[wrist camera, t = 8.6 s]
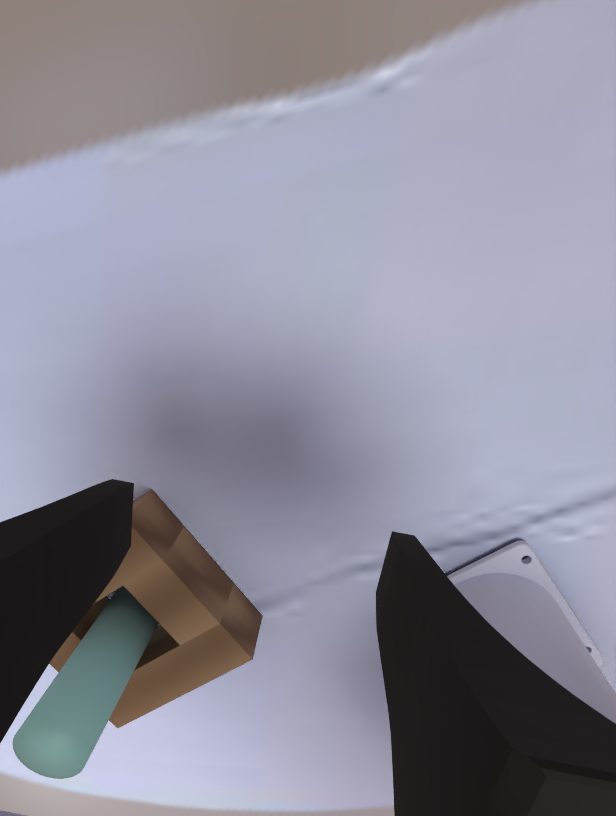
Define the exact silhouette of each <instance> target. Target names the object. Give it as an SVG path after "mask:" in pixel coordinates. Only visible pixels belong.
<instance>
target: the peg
mask: <svg viewBox="0 0 616 816" xmlns="http://www.w3.org/2000/svg"><path fill="white" fill-rule="evenodd" d="M157 625H158V621H157V620H156V619H155V618H154V617H153V616H152V615H151V614H150V613H149V612H148V611H147V610H146V609H145V608H144V607H143V606H142V605H141V604H140V603H139V601H138V600H137V599H136V598H135V597H134V596H133V595H132V594H131V593H130V592H129V591H128V590H127V589H126V588H125V587H124V586H121V587H120V588H118V589H117V590H116V592H115V593H114V595H113V596H112V598H111V599H110V600H109V602H108V603H107V605H106V606H105V608H104V609H103V610H102V612H101V613H100V615H99V616H98V618H97V619H96V620H95V622H94V623H93V625H92V626H91V627H90V629H89V630H88V632H87V633H86V635H85V636H84V637H83V639H82V640H81V642H80V643H79V645H78V646H77V647H76V649H75V650H74V652H73V653H72V655H71V656H70V657H69V659H68V660H67V662H66V663H65V665H64V666H63V667H62V669H61V670H60V672H59V673H58V675H57V676H56V677H55V679H54V680H53V682H52V683H51V685H50V686H49V687H48V689H47V690H46V692H45V693H44V695H43V696H42V697H41V699H40V700H39V702H38V703H37V704H36V706H35V707H34V709H33V710H32V712H31V713H30V714H29V716H28V717H27V719H26V720H25V722H24V723H23V724H22V726H21V727H20V729H19V730H18V732H17V733H16V734H15V736H14V739H13V749H14V752H15V754H16V756H17V757H18V759H19V760H20V761H21V762H22V763H23V764H24V765H25V766H26V767H27V768H29V769H30V770H32V771H34V772H35V773H38V774H40V775H43V776H46V777H50V778H58V779H63V778H69V777H73V776H75V775H77V774H78V773H80V772H81V771H82V770H83V768H84V766H85V764H86V762H87V761H88V759H89V757H90V755H91V753H92V751H93V749H94V747H95V745H96V743H97V741H98V739H99V737H100V735H101V734H102V732H103V730H104V728H105V726H106V724H107V722H108V720H109V718H110V716H111V714H112V712H113V710H114V708H115V706H116V705H117V703H118V701H119V699H120V697H121V695H122V693H123V691H124V689H125V687H126V685H127V683H128V681H129V679H130V678H131V676H132V674H133V672H134V670H135V668H136V666H137V664H138V662H139V660H140V658H141V656H142V654H143V652H144V650H145V649H146V647H147V645H148V643H149V641H150V639H151V637H152V635H153V633H154V631H155V629H156V627H157Z"/></svg>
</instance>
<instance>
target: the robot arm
mask: <svg viewBox="0 0 616 816" xmlns="http://www.w3.org/2000/svg"><path fill="white" fill-rule="evenodd" d="M133 490H134V483H130V482H124V481H119V480H114V479H112V480H108V481H105V482H102V483H100V484H97V485H95V486H92V487H90V488H87V489H85V490H82V491H80V492H77V493H75V494H73V495H70V496H68V497H65V498H63V499H60V500H58V501H56V502H53V503H51V504H48V505H46V506H43V507H41V508H38V509H35V510H33V511H30V512H27V513H24V514H22V515H19V516H16V517H14V518H11V519H8V520H5V521H3V522H0V743H1V741H2V740H3V738H4V736H5V734H6V733H7V731H8V729H9V728H10V726H11V724H12V723H13V721H14V719H15V718H16V716H17V714H18V712H19V711H20V709H21V707H22V706H23V704H24V703H25V701H26V699H27V698H28V696H29V695H30V693H31V691H32V690H33V688H34V686H35V685H36V683H37V682H38V680H39V678H40V677H41V675H42V674H43V672H44V670H45V669H46V667H47V666H48V664H49V663H50V661H51V660H52V659H53V657H54V656H55V654H56V653H57V651H58V650H59V649H60V647H61V646H62V645H63V643H64V642H65V641H66V639H67V638H68V637H69V636H70V634H71V633H72V632H73V630H74V629H75V628H76V626H77V625H78V624H79V622H80V621H81V620H82V618H83V617H84V616H85V614H86V613H87V612H88V611H89V609H90V608H91V607H92V605H93V604H94V603H95V601H96V600H97V599H98V597H99V596H100V595H101V593H102V592H103V591H104V589H105V588H106V587H107V585H108V584H109V582H110V581H111V580H112V578H113V577H114V575H115V573H116V572H117V570H118V568H119V567H120V565H121V563H122V561H123V560H124V558H125V556H126V554H127V552H128V550H129V549H130V547H131V535H132V513H133ZM524 556H528V557H527V558H526V559H522V557H524ZM376 624H377V635H378V642H379V649H380V657H381V664H382V670H383V677H384V684H385V691H386V698H387V705H388V712H389V721H390V730H391V745H392V764H393V785H394V812H395V816H616V693H615V692H614V690H613V689H612V687H611V686H610V684H609V683H608V681H607V679H606V678H605V676H604V675H603V673H602V672H601V670H600V669H599V667H601V666H602V665H603V662H604V660H603V658H602V656H601V655H600V653H599V652H598V650H597V648H596V647H595V645H594V644H593V642H592V641H591V639H590V638H589V636H588V635H587V633H586V632H585V630H584V629H583V627H582V626H581V624H580V623H579V621H578V620H577V618H576V616H575V615H574V613H573V612H572V610H571V609H570V607H569V606H568V604H567V603H566V601H565V600H564V598H563V597H562V595H561V594H560V592H559V591H558V589H557V588H556V586H555V584H554V583H553V581H552V580H551V578H550V577H549V575H548V574H547V572H546V571H545V569H544V568H543V566H542V565H541V563H540V562H539V560H538V559H537V557H536V556H535V554H534V552H533V551H532V549H531V548H530V546H529V545H528V544H527V543H526V542H524V541H516V542H514V543H512V544H510V545H508V546H506V547H504V548H502V549H500V550H498V551H496V552H494V553H492V554H490V555H488V556H486V557H484V558H482V559H480V560H478V561H476V562H474V563H472V564H470V565H468V566H466V567H464V568H462V569H460V570H458V571H456V572H454V573H452V574H450V575H448V576H446V575H445V574H444V572H443V571H442V570H441V569H440V567H439V566H438V565H437V564H436V562H435V561H434V560H433V558H432V557H431V556H430V555H429V553H428V552H427V551H426V549H425V548H424V547H423V546H422V544H421V543H420V542H419V541H418V539H417V538H416V537H415V536H414V535H408V534H403V533H397V532H392V534H391V537H390V541H389V545H388V549H387V553H386V556H385V560H384V564H383V568H382V571H381V575H380V579H379V583H378V587H377V590H376ZM0 816H26V815H21V814H16V813H11V812H6V811H1V810H0Z"/></svg>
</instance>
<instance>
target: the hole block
mask: <svg viewBox="0 0 616 816" xmlns="http://www.w3.org/2000/svg"><path fill="white" fill-rule="evenodd" d="M121 586H124V587H125V588H126V589H127V590H128V591H129V592H130V593H131V594H132V595H133V596H134V597H135V598H136V599H137V600H138V601H139V603H140V604H141V605H142V606H143V607H144V608H145V609H146V610H147V611H148V612H149V613H150V614H151V615H152V616H153V617H154V618H155V619H156V620H157V621H158V623H159V624H160V626H158V627H157V628H156V629H155V631H154V633H153V635H152V637H151V639H150V641H149V643H148V645H147V647H146V649H145V650H144V652H143V654H142V656H141V658H140V660H139V662H138V664H137V666H136V668H135V670H134V672H133V674H132V676H131V678H130V679H129V681H128V683H127V685H126V687H125V689H124V691H123V693H122V695H121V697H120V699H119V701H118V703H117V705H116V706H115V708H114V710H113V712H112V714H111V716H110V718H109V721H110V722H111V723H113V724H114V725H115V726H116V727H117V728H119V727H121V726H123V725H125V724H127V723H129V722H131V721H133V720H135V719H137V718H139V717H141V716H143V715H145V714H147V713H149V712H151V711H153V710H155V709H156V708H158V707H160V706H162V705H164V704H166V703H168V702H170V701H172V700H174V699H176V698H178V697H180V696H182V695H184V694H186V693H188V692H190V691H192V690H194V689H196V688H198V687H199V686H201V685H203V684H205V683H207V682H209V681H211V680H213V679H215V678H217V677H219V676H221V675H223V674H225V673H227V672H229V671H231V670H233V669H235V668H237V667H239V666H241V665H243V664H244V663H246V662H248V661H250V660H252V659H253V655H254V651H255V646H256V642H257V637H258V633H259V629H260V624H261V620H262V615H261V614H260V613H259V612H258V611H257V609H256V608H255V607H254V606H253V605H252V604H251V603H250V601H249V600H248V599H247V598H246V597H245V596H244V595H243V593H242V592H241V591H240V590H239V589H238V588H237V587H236V585H235V584H234V583H233V582H232V581H231V580H230V579H229V577H228V576H227V575H226V574H225V573H224V572H223V570H222V569H221V568H220V567H219V566H218V565H217V564H216V562H215V561H214V560H213V559H212V558H211V557H210V556H209V554H208V553H207V552H206V551H205V550H204V549H203V548H202V546H201V545H200V544H199V543H198V542H197V541H196V540H195V538H194V537H193V536H192V535H191V534H190V533H189V532H188V530H187V529H186V528H185V527H184V526H183V525H182V523H181V522H180V521H179V520H178V519H177V518H176V517H175V515H174V514H173V513H172V512H171V511H170V510H169V509H168V507H167V506H166V505H165V504H164V503H163V502H162V501H161V499H160V498H159V497H158V496H157V495H156V494H155V493H154V491H153V490H150V491H149V492H147V493H146V494H144V495H143V496H141V497H140V498H138V499H137V500H135V501H134V502H133V513H132V535H131V547H130V549H129V550H128V552H127V554H126V556H125V558H124V560H123V561H122V563H121V565H120V567H119V568H118V570H117V572H116V573H115V575H114V577H113V578H112V580H111V581H110V582H109V584H108V585H107V587H106V588H105V589H104V591H103V592H102V593H101V595H100V596H99V597H98V599H97V600H96V601H95V603H94V604H93V605H92V607H91V608H90V609H89V611H88V612H87V613H86V614H85V616H84V617H83V618H82V620H81V621H80V622H79V624H78V625H77V626H76V628H75V629H74V630H73V632H72V633H71V634H70V636H69V637H68V638H67V639H66V641H65V642H64V643H63V645H62V646H61V647H60V649H59V650H58V651H57V653H56V654H55V656H54V657H53V659H52V660H51V661H50V663H49V664H50V665H51V666H52V667H54V668H55V669H56V670H57V671H58V672H60V670H61V669H62V667H63V666H64V665H65V663H66V662H67V660H68V659H69V657H70V656H71V655H72V653H73V652H74V650H75V649H76V647H77V646H78V645H79V643H80V642H81V640H82V639H83V637H84V636H85V635H86V633H87V632H88V630H89V629H90V627H91V626H92V625H93V623H94V622H95V620H96V619H97V618H98V616H99V615H100V613H101V612H102V610H103V609H104V608H105V606H106V605H107V603H108V602H109V599H108V598H107V597H106V596H107V595H108V594H110V593H112V592H113V591H115V590H117V589H118V588H120V587H121Z"/></svg>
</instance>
